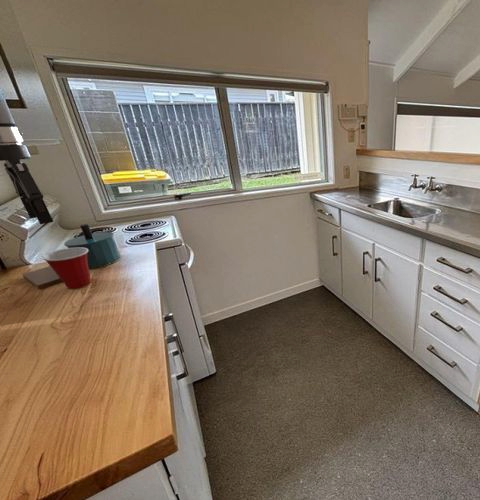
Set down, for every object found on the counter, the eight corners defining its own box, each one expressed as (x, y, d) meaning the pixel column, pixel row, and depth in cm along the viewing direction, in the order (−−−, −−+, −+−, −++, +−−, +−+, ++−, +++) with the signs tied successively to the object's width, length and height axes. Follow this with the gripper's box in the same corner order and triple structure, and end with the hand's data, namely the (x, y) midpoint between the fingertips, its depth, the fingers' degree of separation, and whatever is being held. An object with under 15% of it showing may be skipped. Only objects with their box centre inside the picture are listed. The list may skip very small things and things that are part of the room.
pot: (67, 271, 106) (56, 247, 102) (93, 256, 118) (84, 235, 115) (106, 267, 107) (96, 244, 104) (127, 254, 120) (120, 233, 116)
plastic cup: (89, 290, 91) (74, 256, 87) (49, 295, 89) (32, 260, 85) (107, 275, 101) (94, 244, 97) (72, 279, 99) (57, 248, 94)
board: (39, 289, 93) (37, 285, 93) (23, 277, 102) (21, 274, 101) (85, 274, 103) (83, 270, 102) (67, 265, 111) (65, 261, 111)
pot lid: (54, 249, 102) (46, 232, 100) (84, 236, 116) (77, 220, 113) (97, 246, 103) (90, 229, 101) (122, 233, 117) (116, 218, 114)
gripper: (34, 142, 73) (69, 221, 81) (16, 144, 86) (48, 212, 94) (-11, 144, 67) (32, 229, 75) (-22, 146, 80) (15, 218, 89)
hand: (41, 220), depth 85 cm, fingers open, 13 cm apart
